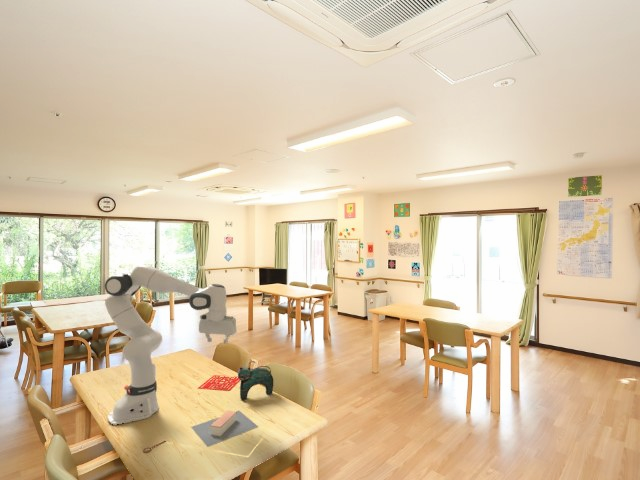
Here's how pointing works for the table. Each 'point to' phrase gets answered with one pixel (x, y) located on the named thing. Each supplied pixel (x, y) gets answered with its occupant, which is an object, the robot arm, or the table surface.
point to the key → (153, 446)
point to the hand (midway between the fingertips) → (217, 342)
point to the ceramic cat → (254, 379)
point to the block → (223, 423)
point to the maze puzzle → (219, 383)
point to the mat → (235, 429)
